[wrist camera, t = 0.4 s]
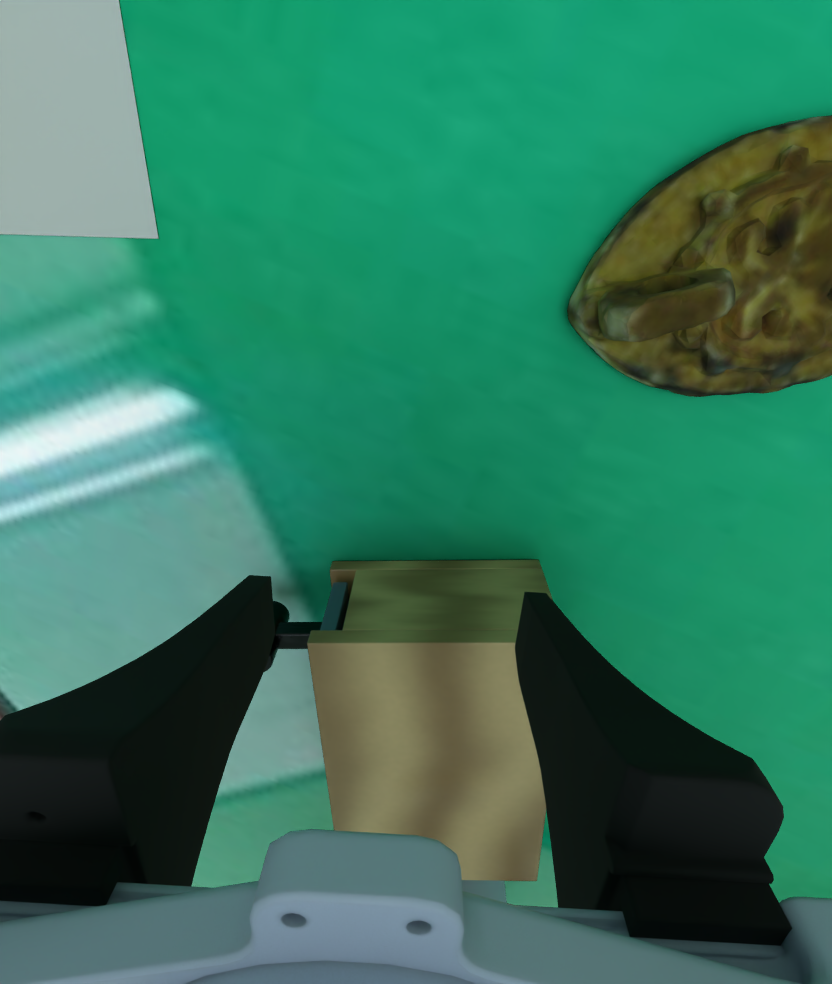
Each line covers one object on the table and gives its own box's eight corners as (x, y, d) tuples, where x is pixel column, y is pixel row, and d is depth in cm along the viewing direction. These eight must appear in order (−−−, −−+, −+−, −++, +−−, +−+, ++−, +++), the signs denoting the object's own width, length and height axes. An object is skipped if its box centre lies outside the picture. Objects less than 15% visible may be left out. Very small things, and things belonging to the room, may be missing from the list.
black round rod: (278, 702, 29) (257, 763, 26) (255, 582, 26) (229, 634, 22) (359, 702, 29) (349, 764, 25) (347, 581, 25) (335, 634, 22)
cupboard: (355, 775, 33) (340, 879, 28) (331, 560, 26) (306, 643, 21) (519, 776, 33) (537, 881, 27) (538, 559, 26) (568, 642, 20)
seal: (972, 70, 18) (542, 203, 20) (1145, -9, 14) (572, 172, 16) (958, 340, 21) (583, 434, 23) (1098, 348, 17) (618, 464, 18)
